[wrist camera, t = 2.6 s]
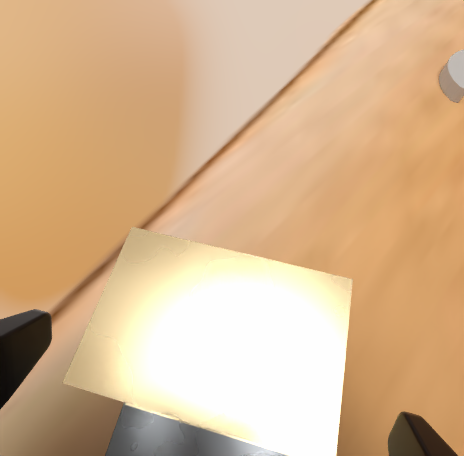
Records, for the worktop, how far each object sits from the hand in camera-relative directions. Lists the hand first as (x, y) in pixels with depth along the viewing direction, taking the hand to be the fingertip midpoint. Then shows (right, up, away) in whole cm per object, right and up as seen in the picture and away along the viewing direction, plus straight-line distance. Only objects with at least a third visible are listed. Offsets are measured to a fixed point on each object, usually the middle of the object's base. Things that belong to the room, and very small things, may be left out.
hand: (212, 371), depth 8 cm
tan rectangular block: (0, -3, +7) cm, 7 cm away
